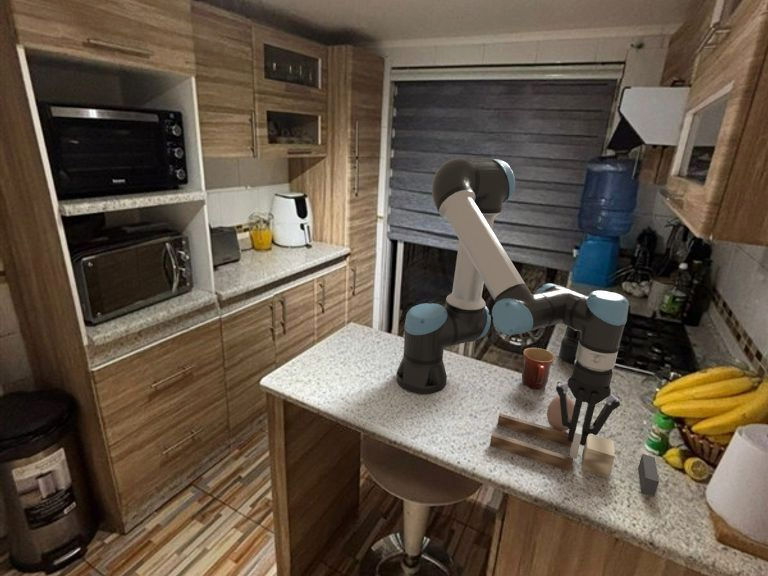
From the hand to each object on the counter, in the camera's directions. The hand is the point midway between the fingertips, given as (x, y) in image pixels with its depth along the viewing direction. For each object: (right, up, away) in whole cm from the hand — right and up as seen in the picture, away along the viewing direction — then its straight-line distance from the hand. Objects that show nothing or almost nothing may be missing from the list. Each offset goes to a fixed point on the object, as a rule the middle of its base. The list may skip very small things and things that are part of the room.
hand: (573, 453), depth 96 cm
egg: (+1, +2, +11) cm, 11 cm away
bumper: (+13, -4, -5) cm, 15 cm away
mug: (+1, +8, +29) cm, 30 cm away
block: (+4, -2, -1) cm, 5 cm away
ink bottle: (+21, +14, +47) cm, 53 cm away
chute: (-8, 0, +4) cm, 9 cm away
